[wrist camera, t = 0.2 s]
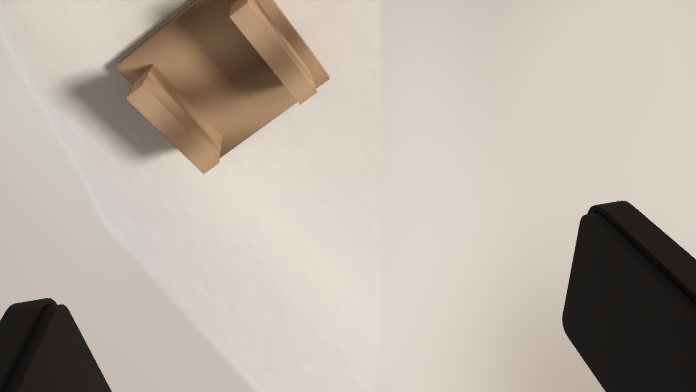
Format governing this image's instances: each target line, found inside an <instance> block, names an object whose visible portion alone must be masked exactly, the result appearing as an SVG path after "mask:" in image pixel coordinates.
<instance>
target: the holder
mask: <svg viewBox="0 0 696 392" xmlns="http://www.w3.org/2000/svg"><path fill="white" fill-rule="evenodd" d="M116 68H117V69H118V70H119V71H120V72H121V73H122V74H123V75H124V76H125V77H126V78H127V79H128V80H129V81H130V82H131V83H132V84H133V86H132V88H131V90H130V92H129V93H128V95H127V97H126V99H127V100H128V101H129V102H130V103H131V104H132V105H133V106H134V107H135V108H136V109H137V110H138V111H139V112H140V113H141V114H142V115H143V116H144V117H145V118H146V119H147V120H148V121H149V122H150V123H151V124H152V125H153V126H155V127H156V128H157V129H158V130H159V131H160V132H161V133H162V134H163V135H164V136H165V137H166V138H167V139H168V140H169V141H170V142H171V143H172V144H173V145H174V146H175V147H176V148H177V149H178V150H179V151H180V152H181V153H182V154H183V155H184V156H185V157H186V158H187V159H188V160H190V161H191V162H192V163H193V164H194V165H195V166H196V167H197V168H198V169H199V170H200V171H201V172H202V173H203V174H204V173H206V172H207V171H209V170H210V169H211V168H213V167H214V166H215V165H217V164H218V163H219V159H220V158H221V157H222V156H223V155H225V154H226V153H228V152H229V151H230V150H232V149H233V148H235V147H236V146H237V145H239V144H240V143H241V142H243V141H244V140H246V139H247V138H248V137H250V136H251V135H253V134H254V133H255V132H257V131H258V130H259V129H261V128H262V127H264V126H265V125H266V124H268V123H269V122H271V121H272V120H273V119H275V118H276V117H277V116H279V115H280V114H282V113H283V112H284V111H286V110H287V109H289V108H290V107H291V106H293V105H294V104H295V103H297V102H298V103H299V104H302V103H303V102H304V101H306V100H307V99H309V98H310V97H311V96H313V95H314V94H315V93H317V91H316V88H318V87H319V86H320V85H322V84H323V83H325V82H326V81H327V80H329V79H330V78H329V76H328V74H327V72H326V71H325V70H324V68H323V67H322V66H321V64H320V63H319V61H318V60H317V59H316V57H315V56H314V55H313V53H312V52H311V51H310V49H309V48H308V47H307V45H306V44H305V42H304V41H303V40H302V38H301V37H300V36H299V34H298V33H297V32H296V30H295V29H294V27H293V26H292V25H291V23H290V22H289V21H288V19H287V18H286V17H285V15H284V14H283V13H282V11H281V10H280V8H279V7H278V6H277V4H276V3H275V2H274V0H196V1H195V2H194V3H193V4H191V5H190V6H189V7H188V8H186V9H185V10H184V11H183V12H181V13H180V14H179V15H178V16H176V17H175V18H174V19H173V20H171V21H170V22H169V23H168V24H166V25H165V26H164V27H163V28H162V29H160V30H159V31H158V32H157V33H155V34H154V35H153V36H152V37H150V38H149V39H148V40H147V41H145V42H144V43H143V44H142V45H140V46H139V47H138V48H137V49H135V50H134V51H133V52H132V53H130V54H129V55H128V56H127V57H126V58H124V59H123V60H122V61H121V62H119V63H118V65H117V66H116Z"/></svg>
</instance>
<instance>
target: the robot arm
mask: <svg viewBox="0 0 696 392" xmlns="http://www.w3.org/2000/svg"><path fill="white" fill-rule="evenodd" d="M562 322H563V327H564V330H565V333H566V335H567V336H568V338H569V339H570V341H571V342H572V344H573V345H574V347H575V348H576V349H577V351H578V352H579V354H580V355H581V357H582V358H583V360H584V361H585V362H586V364H587V365H588V367H589V368H590V369H591V371H592V373H593V374H594V375H595V377H596V378H597V380H598V381H599V383H600V384H601V386H602V387H603V389H604V390H605V391H606V392H696V259H695V258H694V257H692V256H691V255H690V254H689V253H688V252H687V251H685V250H684V249H683V248H682V247H680V246H679V245H678V244H677V243H676V242H675V241H674V240H672V239H671V238H670V237H669V236H668V235H666V234H665V233H664V232H663V231H662V230H661V229H660V228H658V227H657V226H656V225H655V224H654V223H652V222H651V221H650V220H649V219H648V218H647V217H646V216H644V215H643V214H642V213H641V212H639V211H638V210H637V209H636V208H635V207H634V206H633V205H631V204H630V203H628V202H627V201H617V202H612V203H605V204H600V205H594V206H592V207H591V208H590V209H589V211H588V214H587V215H584V216H583V217H582V218H581V221H580V225H579V230H578V236H577V241H576V246H575V252H574V257H573V262H572V268H571V273H570V278H569V284H568V289H567V294H566V300H565V306H564V311H563V316H562ZM0 392H112V391H111V390H110V388H109V386H108V384H107V382H106V380H105V378H104V376H103V374H102V373H101V370H100V369H99V367H98V365H97V363H96V361H95V359H94V357H93V355H92V353H91V351H90V349H89V348H88V346H87V344H86V342H85V340H84V338H83V336H82V334H81V332H80V330H79V329H78V327H77V325H76V323H75V321H74V319H73V317H72V315H71V314H70V311H69V310H68V308H67V307H66V306H65V305H57V304H56V302H55V301H54V300H52V299H51V298H45V299H39V300H33V301H28V302H22V303H15V304H13V305H11V306H10V307H9V308H8V309H7V310H6V312H5V314H4V315H3V317H2V319H1V320H0Z"/></svg>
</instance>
